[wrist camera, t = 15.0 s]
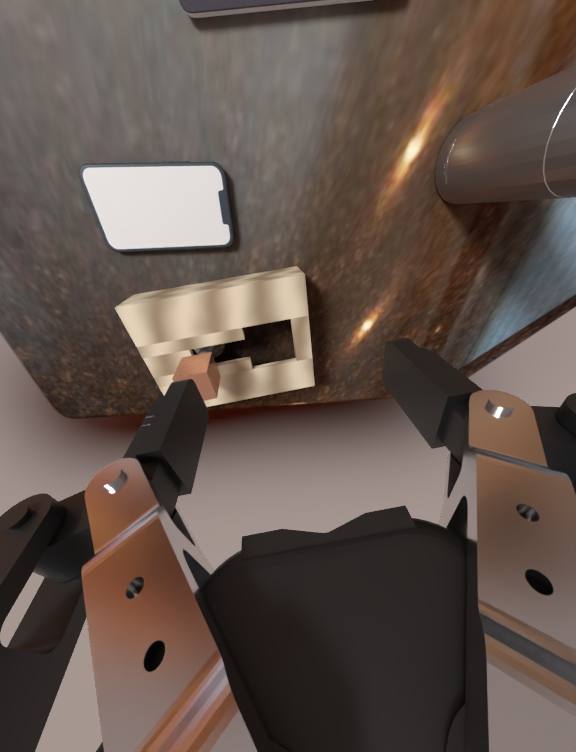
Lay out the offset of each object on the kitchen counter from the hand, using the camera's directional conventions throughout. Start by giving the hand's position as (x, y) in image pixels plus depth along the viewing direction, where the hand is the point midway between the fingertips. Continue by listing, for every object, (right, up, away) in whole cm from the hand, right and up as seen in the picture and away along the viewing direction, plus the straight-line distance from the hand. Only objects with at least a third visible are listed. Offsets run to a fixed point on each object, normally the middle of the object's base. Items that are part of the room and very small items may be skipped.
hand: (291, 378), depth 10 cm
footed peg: (-13, +6, +30) cm, 33 cm away
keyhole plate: (-9, +7, +30) cm, 32 cm away
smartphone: (-15, +21, +20) cm, 33 cm away
